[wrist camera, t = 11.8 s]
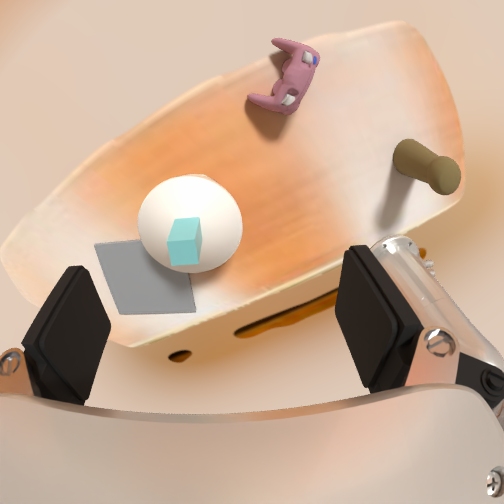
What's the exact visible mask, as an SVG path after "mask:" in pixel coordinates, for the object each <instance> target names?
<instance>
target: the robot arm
mask: <svg viewBox="0 0 504 504" xmlns="http://www.w3.org/2000/svg"><path fill="white" fill-rule="evenodd" d="M432 266H433V261H432V260H426V261H423V260H422V258H421V257H420V256H419V250H418V247H417V245H416V244H415V243H414V242H413V240H411V239H410V238H409V237H406V236H403V235H393V236H389V237H387V238H384V239H382V240H381V241H379V242H378V243H376V244H375V245H374V246H373V247H372V248H371V249H369V248H368V246H366V245H356V246H350V248H349V250H346V251H345V253H344V259H343V265H342V271H341V277H340V284H339V289H338V294H337V300H336V305H335V315H336V318H337V320H338V323H339V325H340V327H341V330H342V332H343V335H344V337H345V340H346V342H347V345H348V347H349V350H350V352H351V355H352V358H353V360H354V363H355V365H356V368H357V370H358V373H359V376H360V379H361V381H362V384H363V386H364V387H365V388H369V391H370V394H368V395H364V396H359V397H354V398H349V399H344V400H339V401H333V402H328V403H322V404H316V405H310V406H303V407H296V408H288V409H280V410H271V411H260V412H246V413H230V414H161V413H160V414H159V413H143V412H130V411H120V410H111V409H103V408H95V407H89V406H84V403H85V400H87V399H88V398H89V395H90V392H91V388H92V385H93V382H94V378H95V375H96V372H97V369H98V366H99V362H100V359H101V356H102V353H103V350H104V347H105V345H106V342H107V339H108V336H109V333H110V330H111V323H110V320H109V318H108V316H107V314H106V311H105V309H104V307H103V305H102V302H101V300H100V298H99V295H98V293H97V291H96V288H95V286H94V283H93V281H92V278H91V276H90V273H89V271H88V270H87V269H85V268H84V267H83V266H82V265H81V266H69V267H68V268H67V269H66V271H65V272H64V274H63V275H62V277H61V278H60V280H59V281H58V282H57V284H56V285H55V287H54V289H53V290H52V292H51V293H50V295H49V296H48V298H47V299H46V301H45V303H44V304H43V306H42V308H41V309H40V311H39V313H38V314H37V316H36V318H35V319H34V321H33V323H32V324H31V326H30V328H29V330H28V331H27V333H26V335H25V337H24V339H23V341H22V342H21V344H22V345H23V346H24V348H25V351H24V353H23V351H21V350H20V349H18V348H11V349H9V350H7V351H5V352H4V353H3V354H2V355H1V356H0V504H504V360H503V358H502V356H501V354H500V353H499V352H498V351H497V349H496V348H495V347H494V346H493V345H492V344H491V343H490V342H489V341H488V340H487V339H486V338H485V337H484V336H483V335H482V334H481V333H480V332H479V331H478V330H477V329H476V327H475V326H474V325H473V324H472V323H471V322H470V321H469V319H468V318H467V317H466V316H465V314H464V313H463V312H462V311H461V310H460V308H459V307H458V306H457V304H456V303H455V302H454V301H453V299H452V298H451V297H450V296H449V294H448V293H447V292H446V291H445V289H444V288H443V287H442V286H441V285H440V283H439V282H438V281H437V280H436V279H435V278H434V277H435V271H434V270H433V269H427V268H428V267H432Z"/></svg>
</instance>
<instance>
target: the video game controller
mask: <svg viewBox="0 0 504 504" xmlns="http://www.w3.org/2000/svg"><path fill="white" fill-rule="evenodd" d="M271 42H272V44H273V45H275V46H276V47H278V48H279V49H281V50H283V51H285V52H287V53H290V54H292V55H293V57H292V58H290V59H288V60H286V61H285V62H284V64H283V66H282V72H283V73H284V76H283V79H279V80H278V81H277V82H276V83H275V84H274V86H273V93H274V94H275V95H274V96H264V95H260V94H249V95H247V98H248V99H249V100H250V101H251V102H252V103H254V104H256V105H258V106H260V107H263V108H265V109H268V110H271V111H275V112H279V113H282V114H285V115H291V114H292V113H294V112H295V111H296V110H297V108H298V107H299V104H300V101H301V99H302V98H303V96H304V95H305V93H306V91H307V89H308V87H309V85H310V83H311V81H312V78H313V75H314V72H315V68H316V67H317V65H318V64H319V61H320V56H319V53H318V52H316V51H315V50H314V49H312V48H311V47H309V46H307V45H304V44H302V43H298V42H295V41H291V40H286V39H282V38H275V39H273V40H272V41H271Z"/></svg>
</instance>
